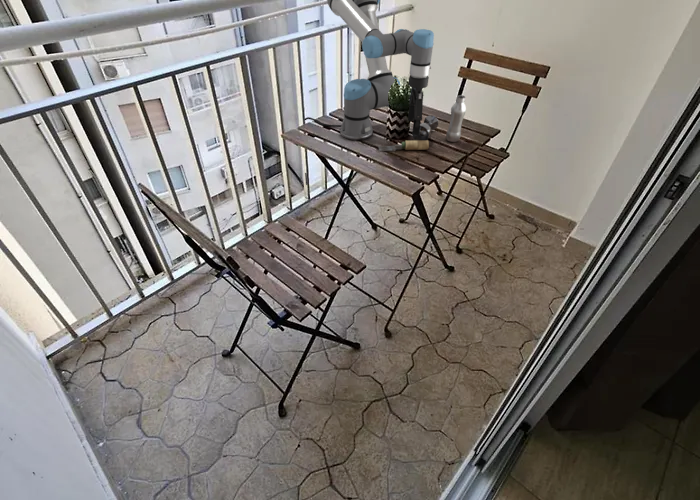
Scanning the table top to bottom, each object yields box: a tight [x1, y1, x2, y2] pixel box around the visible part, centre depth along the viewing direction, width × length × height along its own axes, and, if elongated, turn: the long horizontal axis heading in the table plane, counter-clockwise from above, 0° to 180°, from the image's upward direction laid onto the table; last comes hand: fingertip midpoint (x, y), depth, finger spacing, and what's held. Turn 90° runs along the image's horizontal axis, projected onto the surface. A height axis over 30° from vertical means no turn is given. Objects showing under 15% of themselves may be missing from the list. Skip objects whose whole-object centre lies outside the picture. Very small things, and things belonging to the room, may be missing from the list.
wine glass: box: [411, 114, 439, 141], centre depth 179 cm, size 8×8×15 cm
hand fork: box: [378, 140, 430, 152], centre depth 171 cm, size 22×4×4 cm, turn 91°
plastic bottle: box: [445, 94, 467, 143], centre depth 172 cm, size 6×7×20 cm
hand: (413, 127), depth 165 cm, fingers open, 13 cm apart
